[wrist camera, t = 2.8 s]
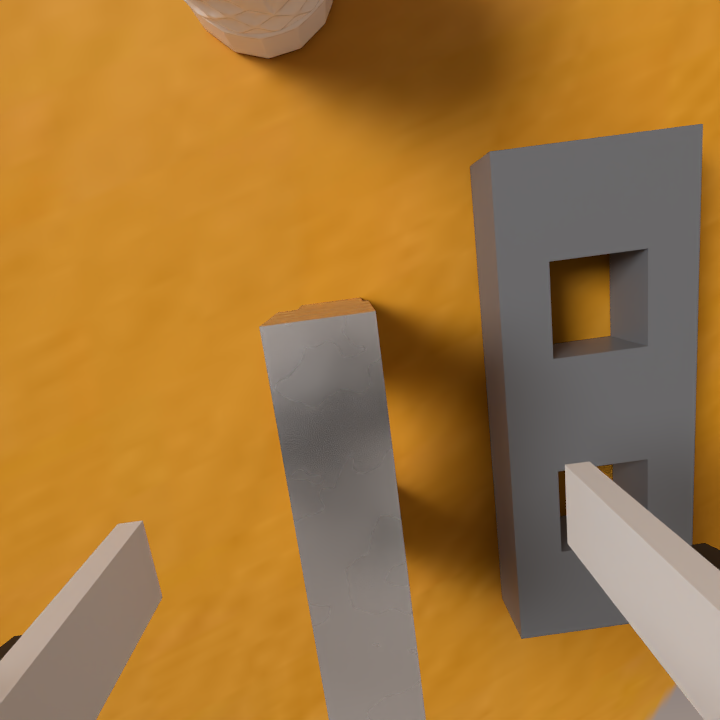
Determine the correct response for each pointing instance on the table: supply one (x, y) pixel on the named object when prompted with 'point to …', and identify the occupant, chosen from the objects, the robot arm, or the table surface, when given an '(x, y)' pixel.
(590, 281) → the table surface
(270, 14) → the white cup
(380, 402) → the light gray u-shaped block
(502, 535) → the grey slotted base plate
